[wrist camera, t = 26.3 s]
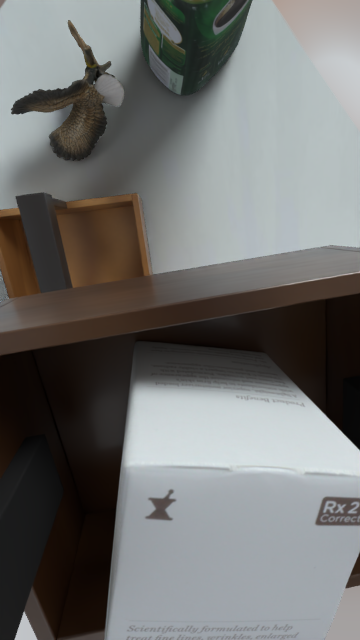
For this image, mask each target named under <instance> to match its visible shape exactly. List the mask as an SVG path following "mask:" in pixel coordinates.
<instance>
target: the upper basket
mask: <svg viewBox="0 0 360 640" xmlns="http://www.w3.org/2000/svg"><path fill="white" fill-rule="evenodd" d="M16 200H17V204H18V208H12V209H4V210H0V269H1V273H2V276H3V279H4V283H5V286H6V290H7V293H8V296H9V299H10V298H16V297H21V296H27V295H33V294H39V293H45V292H52V291H58V290H64V289H70V288H76V287H82V286H88V285H94V284H100V283H106V282H112V281H118V280H124V279H130V278H136V277H142V276H148V275H153V273H152V266H151V260H150V253H149V246H148V239H147V233H146V226H145V219H144V212H143V206H142V200H141V198H140V197H139V195H138V194H137V193H134V194H126V195H118V196H109V197H101V198H93V199H85V200H77V201H69V202H65V201H61V200H58V199H54V198H52V195H50V194H46V193H35V194H27V195H19V196H16Z"/></svg>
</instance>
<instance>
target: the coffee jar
mask: <svg viewBox="0 0 360 640" xmlns="http://www.w3.org/2000/svg"><path fill="white" fill-rule="evenodd" d="M251 3H252V0H141V26H140V28H141V45H142V51H143V55H144V57H145V59H146V61H147V63H148V65H149V66H150V68H151V69H152V71H153V72H154V74H155V75H156V76H157V78H158V79H159V80H160V81H161V82H162V83H163V84H164V85H165V86H166V87H167V88H168V89H170V90H171V91H172V92H174V93H176V94H179V95H190V94H193V93H195V92H196V91H198V90H199V89H200V88H202V87H203V86H204V85H205V84H206V83H207V82H208V81H209V80H210V79H211V78H212V77H213V76H214V75H215V74H216V73H217V72H218V71H219V70H220V68H221V67H222V66H223V65H224V64H225V62H226V61H227V60H228V58H229V57H230V56H231V54H232V53H233V51H234V50H235V48H236V46H237V44H238V42H239V40H240V37H241V34H242V31H243V28H244V25H245V22H246V19H247V15H248V12H249V9H250V6H251Z"/></svg>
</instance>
